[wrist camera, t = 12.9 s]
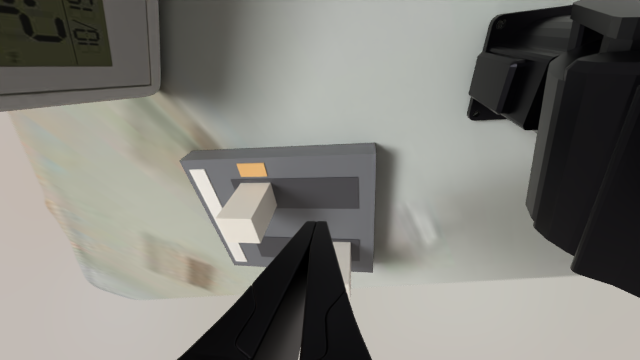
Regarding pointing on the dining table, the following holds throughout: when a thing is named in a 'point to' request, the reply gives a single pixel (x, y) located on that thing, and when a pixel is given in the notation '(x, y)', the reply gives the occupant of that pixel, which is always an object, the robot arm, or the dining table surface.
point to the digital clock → (77, 51)
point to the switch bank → (294, 194)
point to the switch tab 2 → (344, 262)
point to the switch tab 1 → (247, 213)
